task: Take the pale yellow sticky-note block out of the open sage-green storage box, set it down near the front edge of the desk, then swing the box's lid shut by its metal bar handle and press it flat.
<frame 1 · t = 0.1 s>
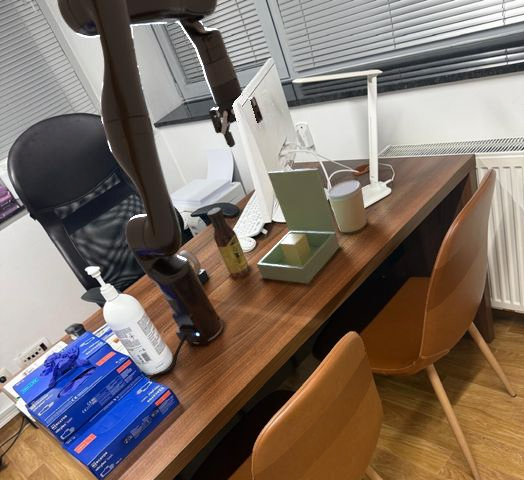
hand: (245, 143, 124), 29 cm above the table, tool pointing down, fingers open, 8 cm apart
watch: (198, 283, 138), on the table
note block: (300, 262, 124), point 1 cm above the table, touching box
box: (301, 264, 125), on the table
coffee cup: (353, 227, 130), on the table
lid: (306, 197, 121), point 15 cm above the table, hinge at 88.0°
sauce bottle: (240, 272, 133), on the table
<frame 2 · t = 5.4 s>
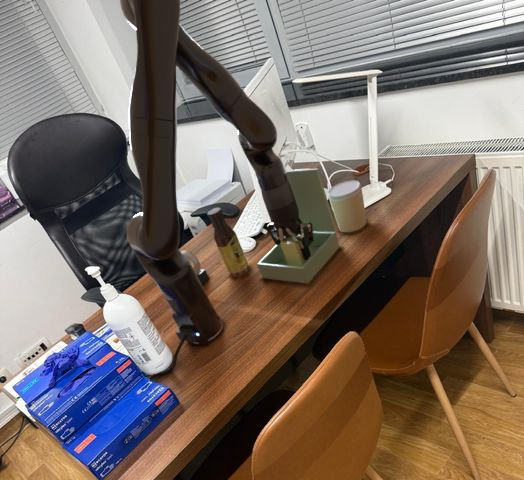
hand: (299, 257, 123), 2 cm above the table, tool pointing down, fingers closed on note block, 5 cm apart
note block: (300, 262, 124), point 1 cm above the table, touching box, gripper
everything else where it was.
when the fingers open (2 cm above the table, at t = 14.2 s): note block stays where it is, on the table.
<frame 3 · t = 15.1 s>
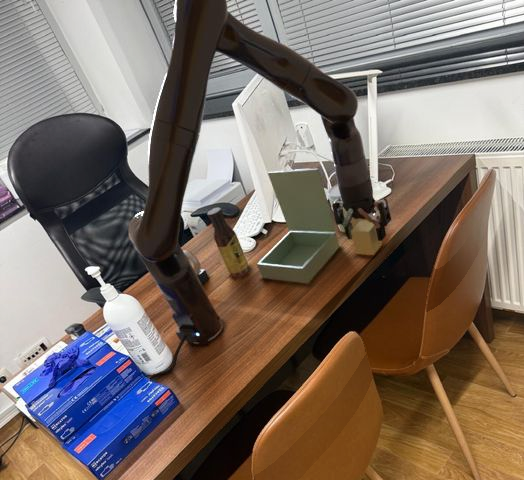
hand: (366, 238, 115), 4 cm above the table, tool pointing down, fingers open, 8 cm apart
note block: (369, 251, 118), on the table
everything else where it was.
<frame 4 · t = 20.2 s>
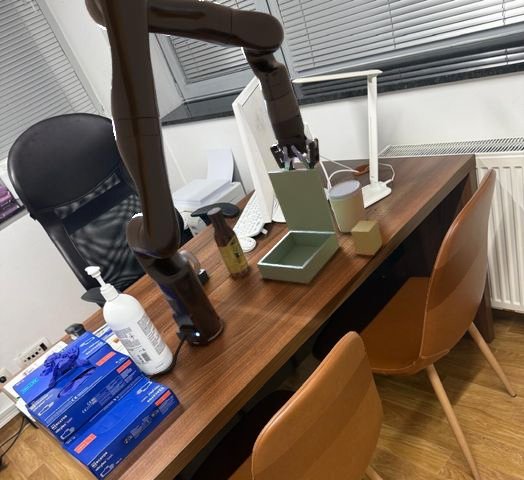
hand: (304, 181, 119), 19 cm above the table, tool pointing down, fingers closed on lid, 5 cm apart
lid: (306, 197, 121), point 15 cm above the table, hinge at 88.0°, touching gripper
everything else where it was.
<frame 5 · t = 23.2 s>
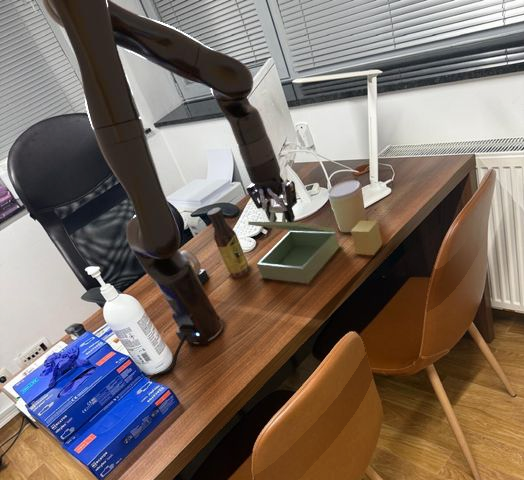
hand: (282, 221, 115), 14 cm above the table, tool pointing down, fingers closed on lid, 5 cm apart
lid: (293, 218, 118), point 13 cm above the table, hinge at 37.0°, touching gripper
everything else where it was.
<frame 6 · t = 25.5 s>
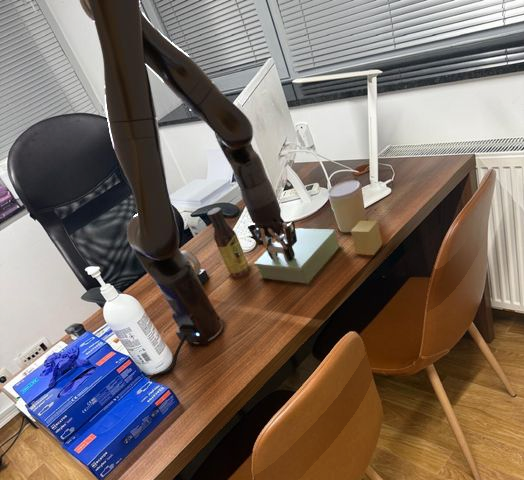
hand: (283, 258, 118), 6 cm above the table, tool pointing down, fingers closed on lid, 5 cm apart
lid: (292, 241, 120), point 8 cm above the table, hinge at -0.2°, touching box, gripper
everything else where it was.
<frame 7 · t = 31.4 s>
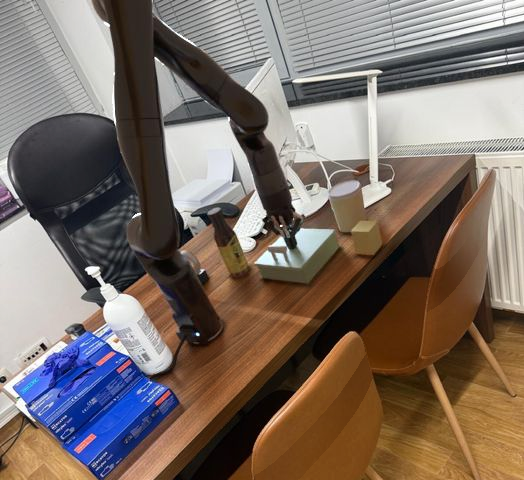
hand: (293, 247, 121), 6 cm above the table, tool pointing down, fingers closed
lid: (292, 241, 120), point 8 cm above the table, hinge at -0.2°, touching box, gripper
everything else where it was.
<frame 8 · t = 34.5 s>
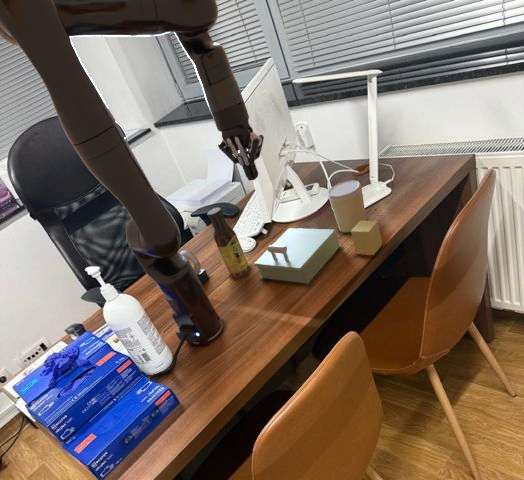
hand: (253, 178, 108), 27 cm above the table, tool pointing down, fingers closed
lid: (292, 241, 120), point 8 cm above the table, hinge at -0.2°, touching box
everything else where it was.
at the end: note block inside the target area (0.1 cm from its centre), on the table; note block tilted 0°; lid at +0° (first picture: +88°) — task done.
